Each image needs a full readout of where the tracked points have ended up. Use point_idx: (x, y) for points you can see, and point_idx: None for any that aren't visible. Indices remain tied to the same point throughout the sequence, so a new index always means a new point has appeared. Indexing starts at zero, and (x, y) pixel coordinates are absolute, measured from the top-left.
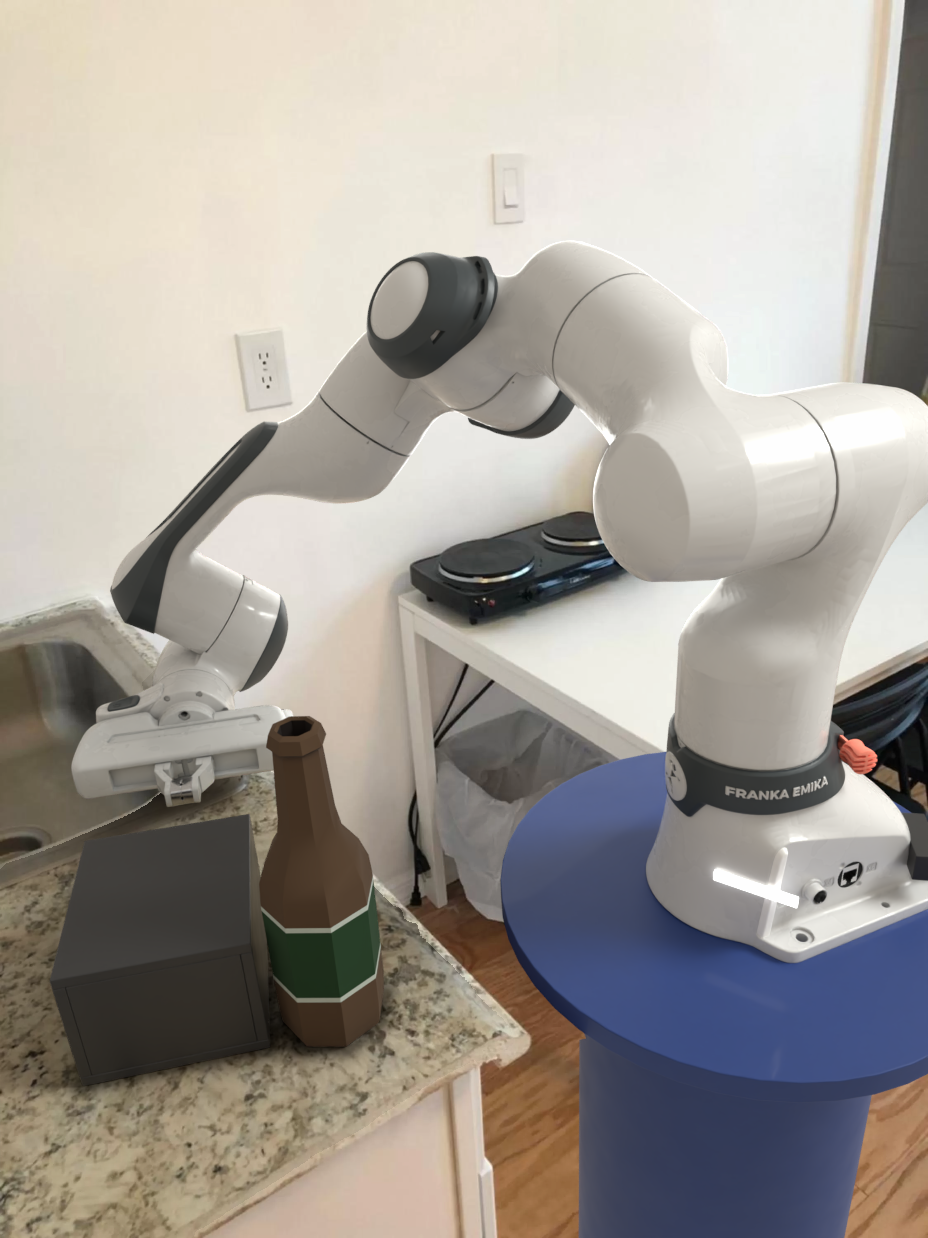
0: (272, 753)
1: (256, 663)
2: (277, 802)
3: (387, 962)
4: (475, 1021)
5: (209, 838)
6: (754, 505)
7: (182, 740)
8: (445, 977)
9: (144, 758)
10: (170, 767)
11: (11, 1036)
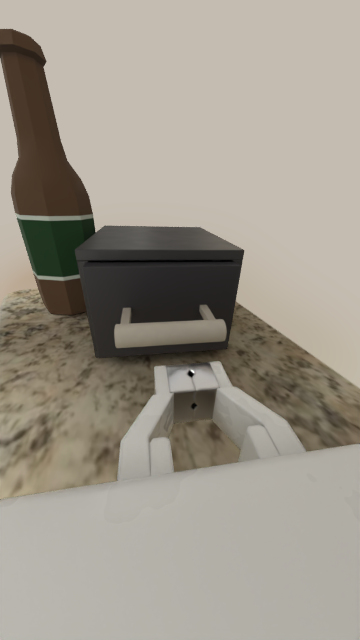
0: (43, 69)
1: None
2: (56, 123)
3: (29, 317)
4: (10, 295)
5: (121, 243)
6: None
7: (286, 625)
8: (3, 308)
9: (358, 448)
10: (252, 447)
11: (245, 308)
